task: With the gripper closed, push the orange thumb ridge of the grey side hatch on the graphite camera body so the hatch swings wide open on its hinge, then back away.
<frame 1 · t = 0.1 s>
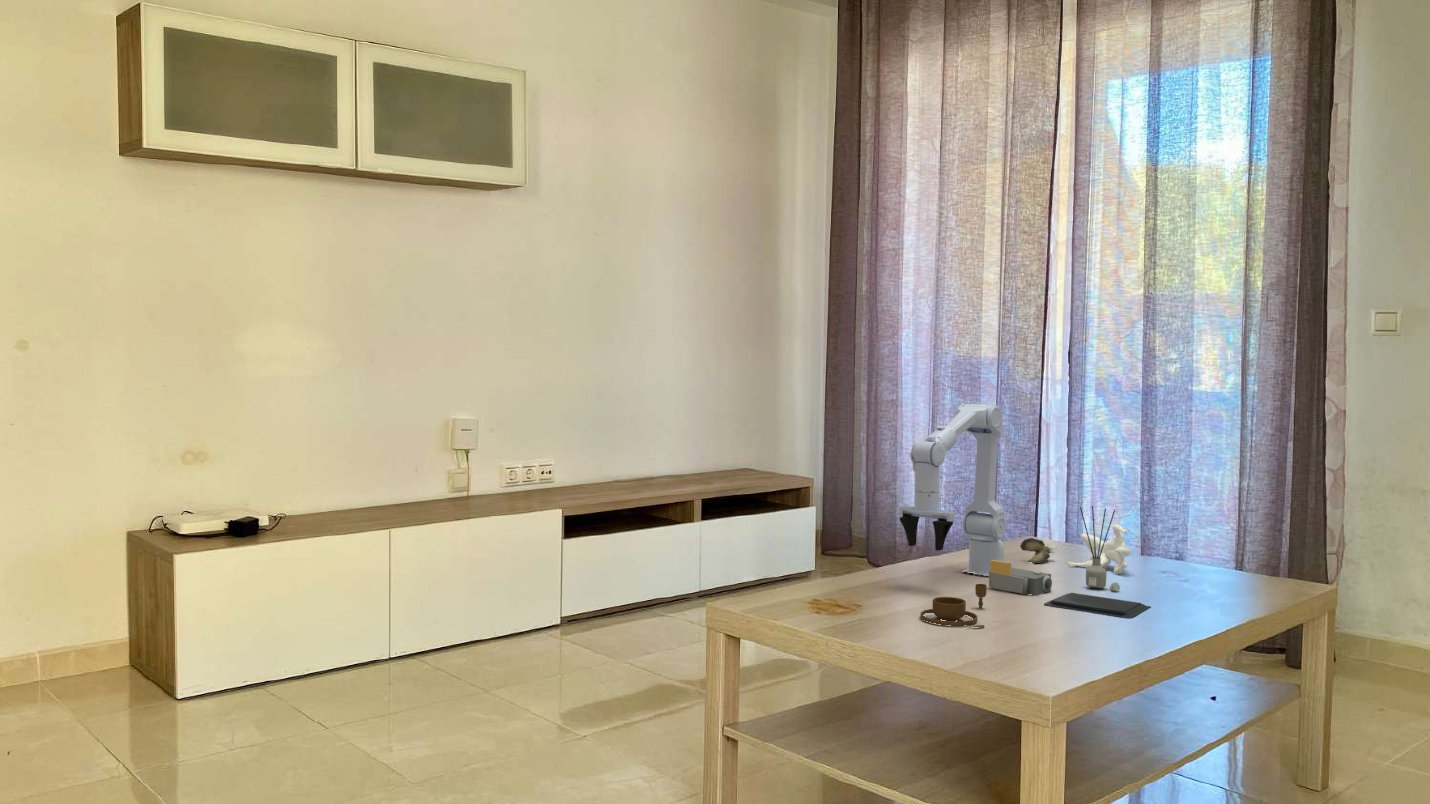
hand: (925, 547, 265), 10 cm above the table, tool pointing down, fingers open, 7 cm apart
side hatch: (1009, 576, 264), point 4 cm above the table, hinge at 0.0°
person figurine: (1106, 570, 294), on the table
place setting: (964, 622, 238), on the table
wallet: (1096, 610, 251), on the table
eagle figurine: (1037, 562, 303), on the table
camera body: (1019, 589, 268), on the table
reed diffuser: (1099, 589, 270), on the table
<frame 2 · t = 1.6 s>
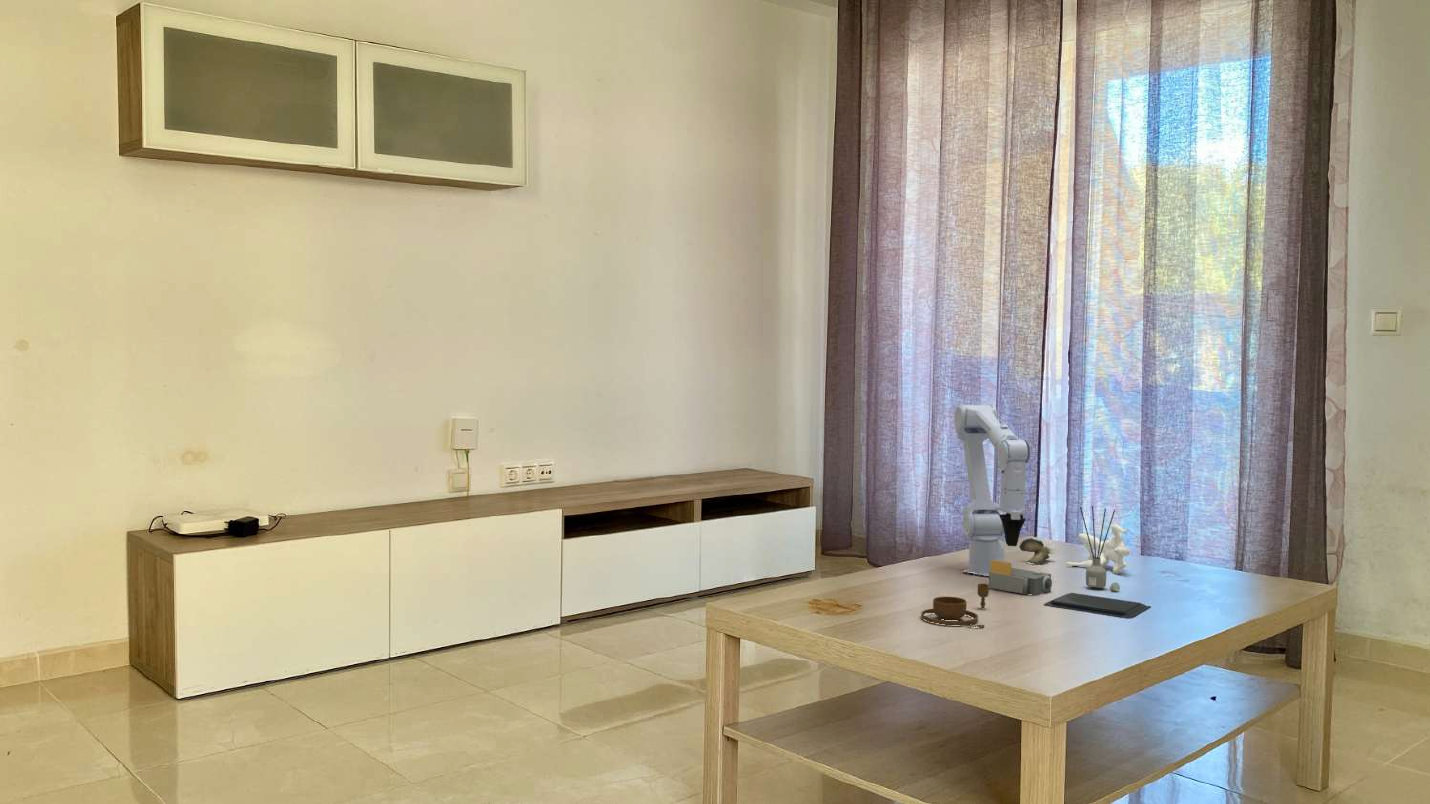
hand: (1011, 545, 269), 10 cm above the table, tool pointing down, fingers closed
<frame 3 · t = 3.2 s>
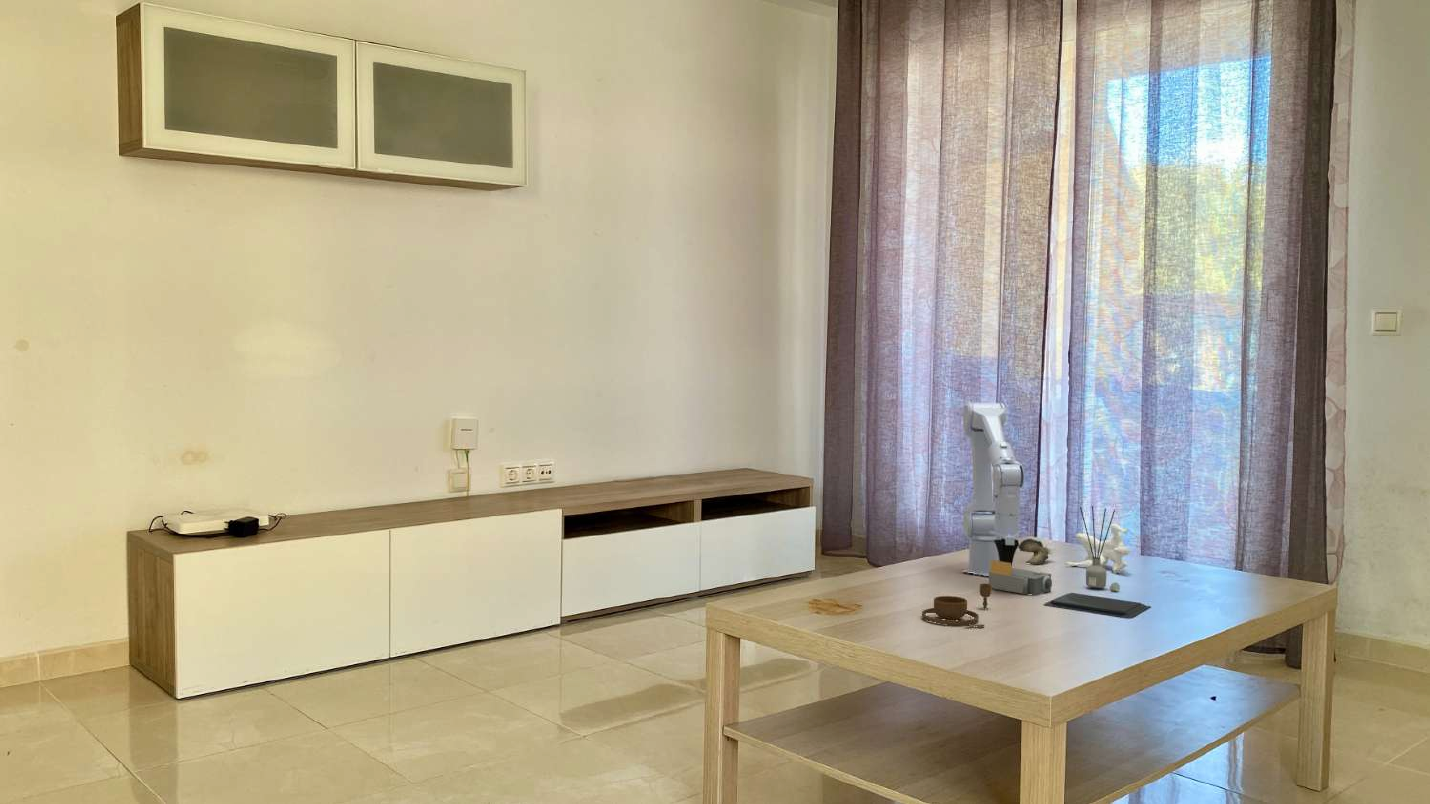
hand: (1005, 570, 267), 5 cm above the table, tool pointing down, fingers closed
side hatch: (1009, 576, 264), point 4 cm above the table, hinge at 0.3°, touching gripper
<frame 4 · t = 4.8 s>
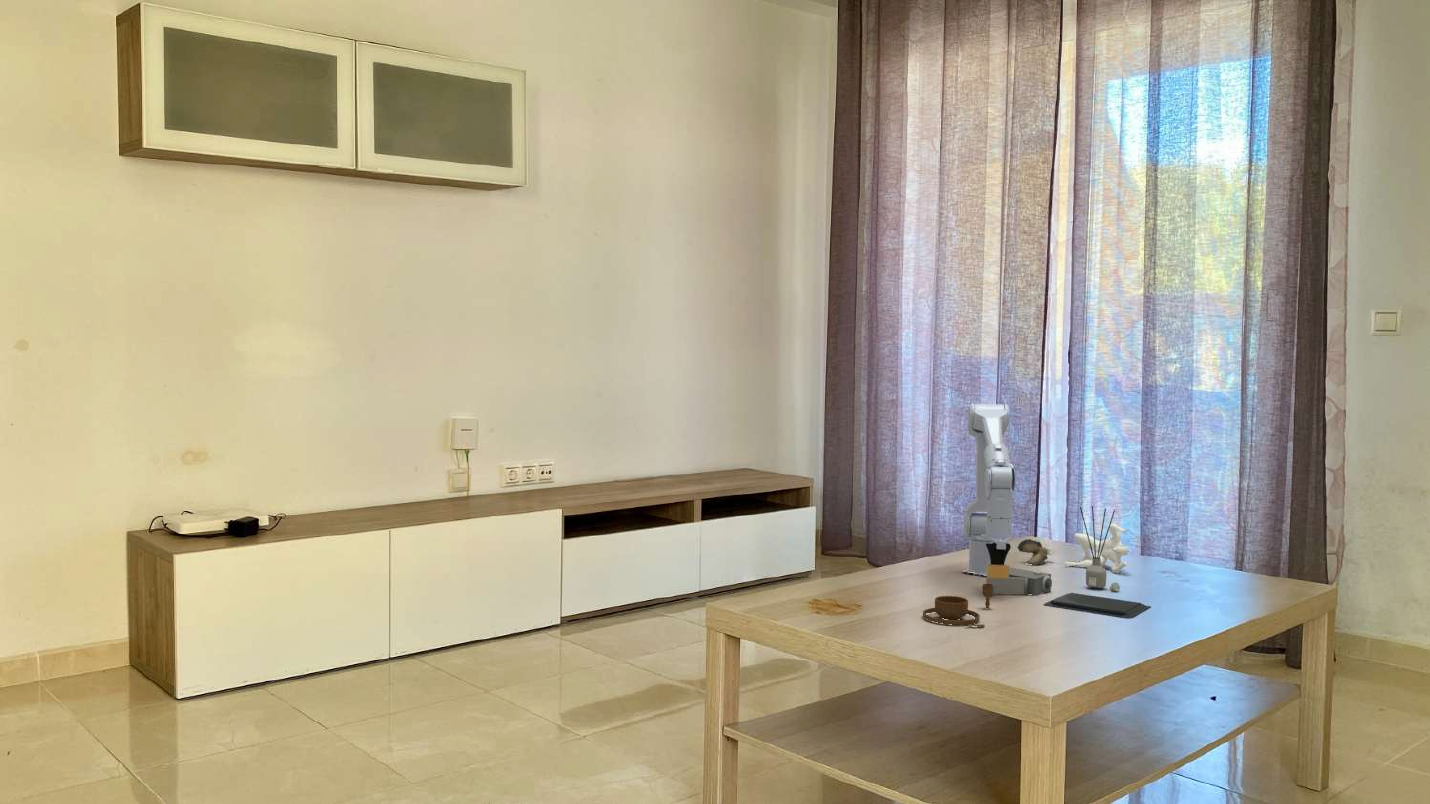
hand: (997, 574, 262), 5 cm above the table, tool pointing down, fingers closed, pressing on side hatch
side hatch: (1007, 579, 261), point 4 cm above the table, hinge at 42.4°, touching gripper
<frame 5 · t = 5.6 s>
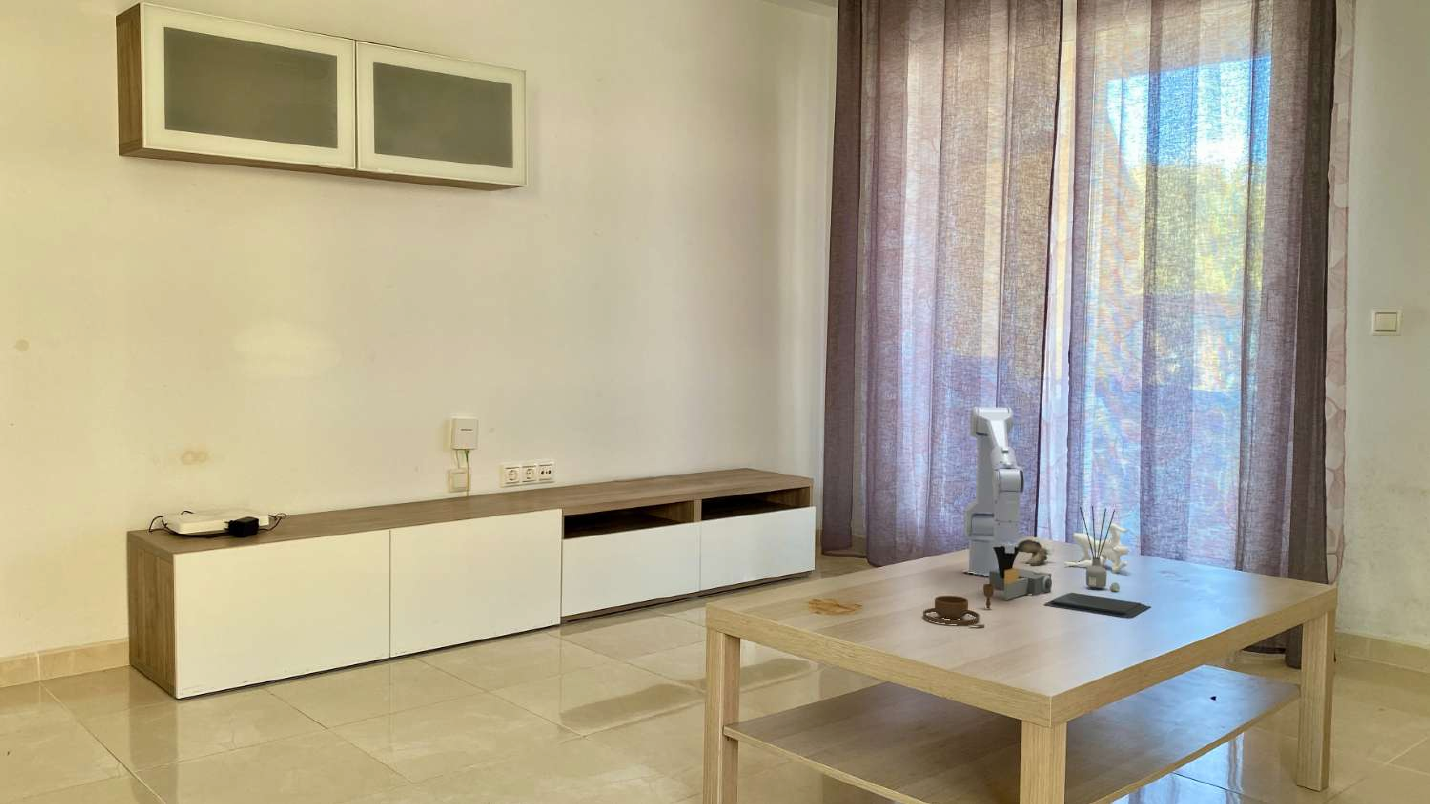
hand: (1005, 578, 258), 5 cm above the table, tool pointing down, fingers closed, pressing on side hatch
side hatch: (1016, 582, 258), point 4 cm above the table, hinge at 88.9°, touching gripper
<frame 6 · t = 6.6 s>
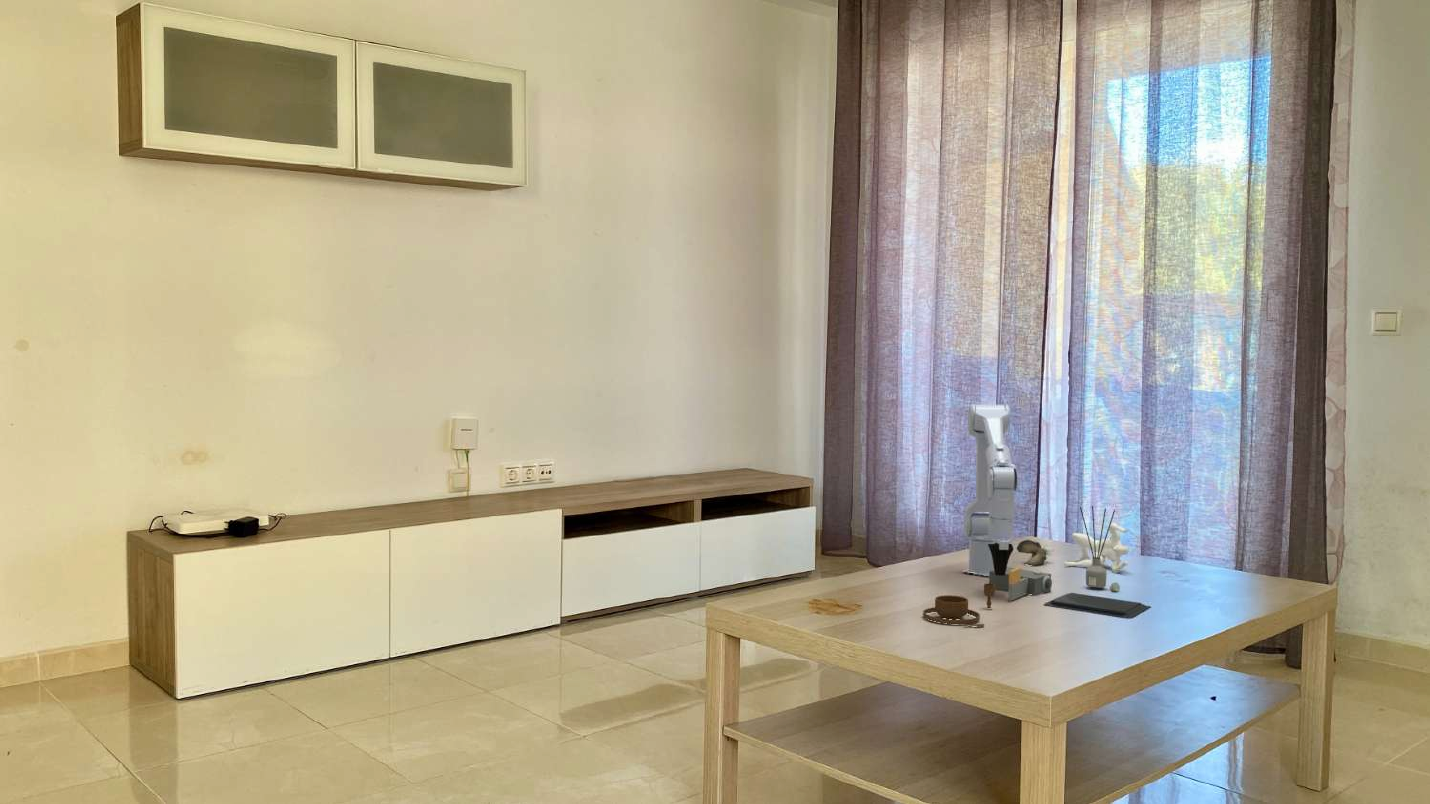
hand: (999, 575, 261), 5 cm above the table, tool pointing down, fingers closed
side hatch: (1018, 582, 258), point 4 cm above the table, hinge at 96.2°
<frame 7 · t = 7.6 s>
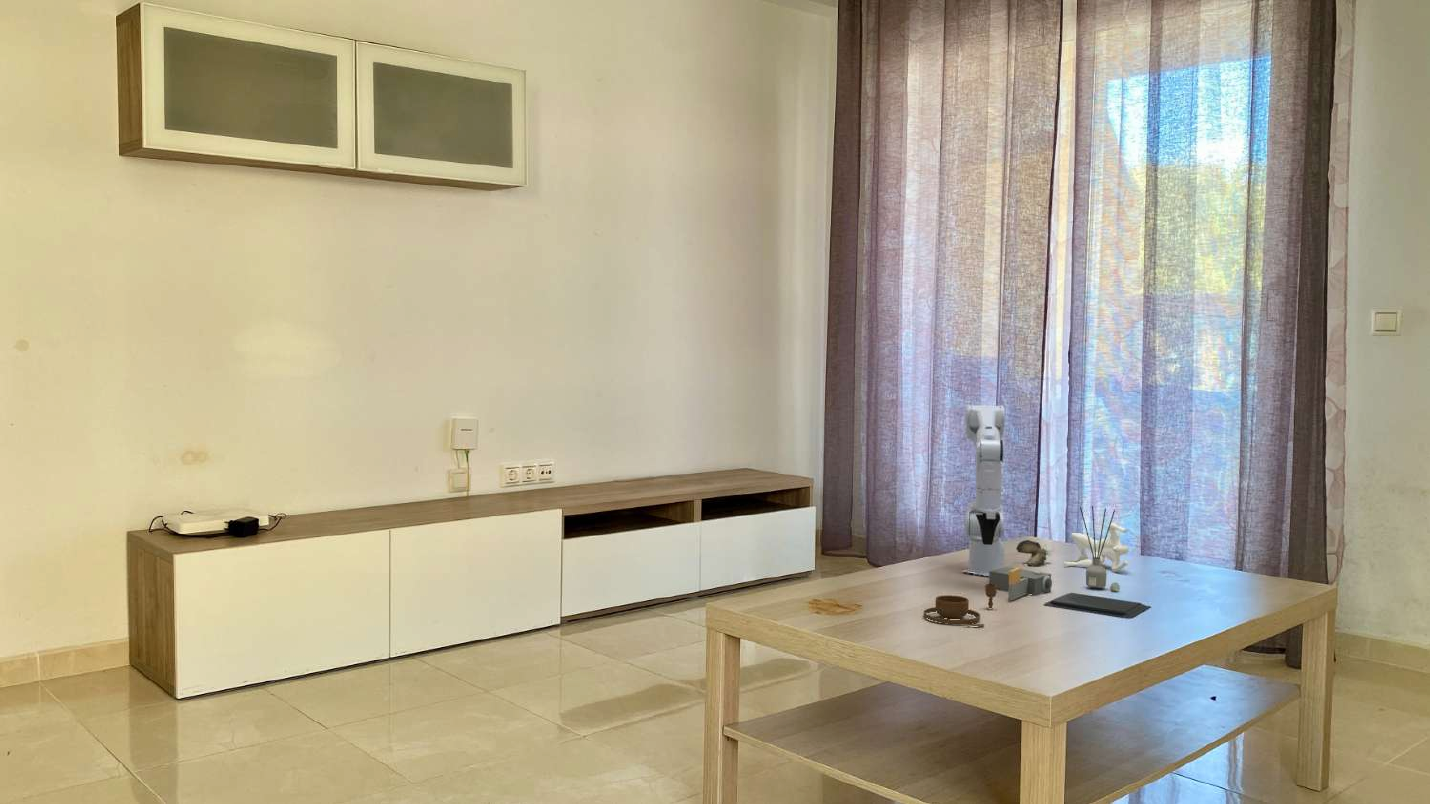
hand: (987, 544, 269), 10 cm above the table, tool pointing down, fingers closed
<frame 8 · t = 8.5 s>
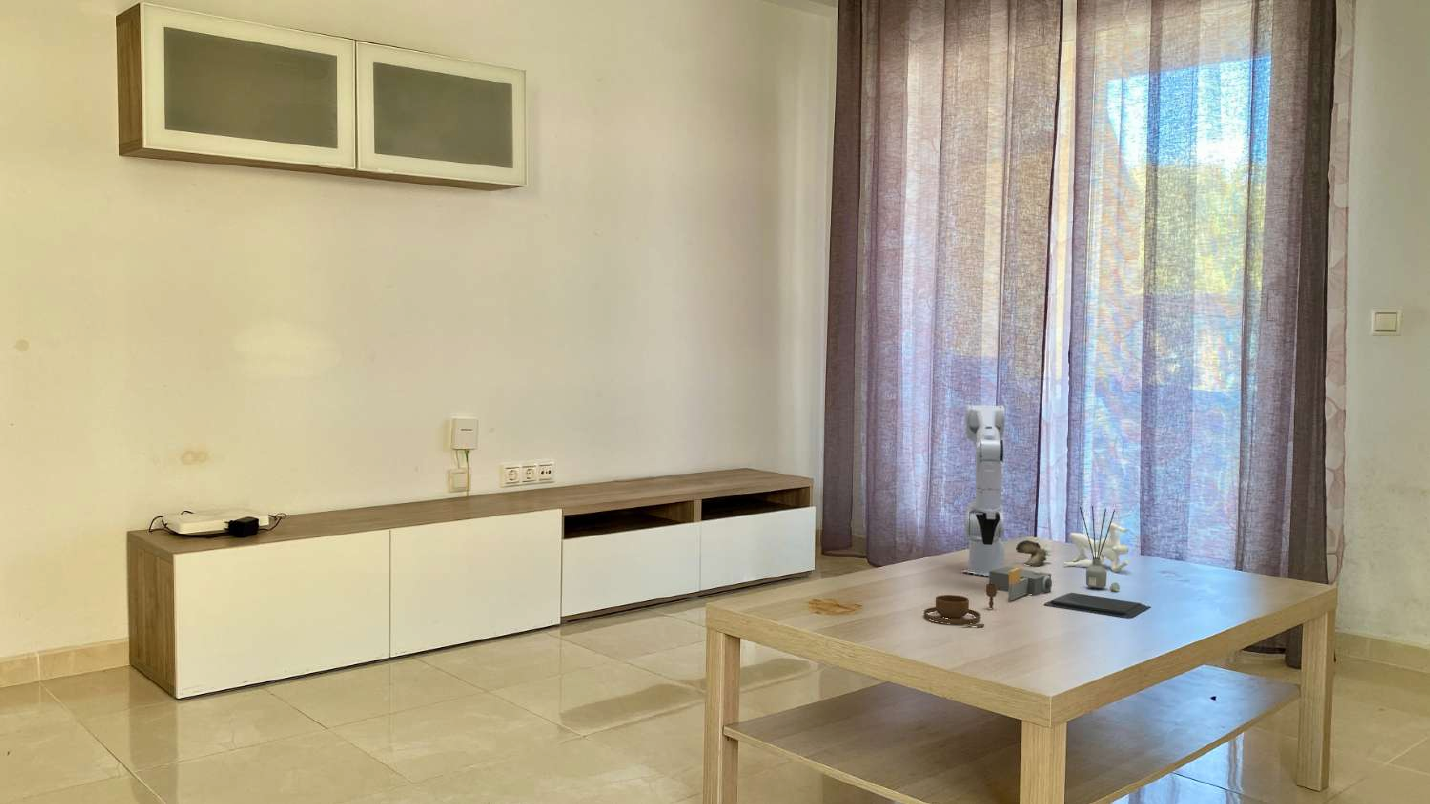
hand: (987, 544, 269), 10 cm above the table, tool pointing down, fingers closed
at the end: side hatch at +96° (first picture: +0°); side hatch touching nothing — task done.
